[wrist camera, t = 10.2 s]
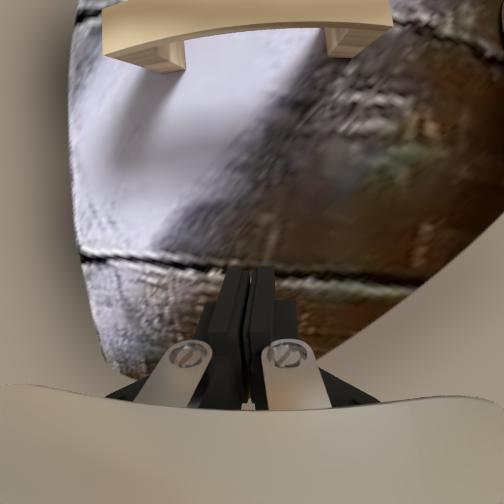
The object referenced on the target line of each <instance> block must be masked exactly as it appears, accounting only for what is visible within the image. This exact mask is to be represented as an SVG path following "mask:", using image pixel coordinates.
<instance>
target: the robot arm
mask: <svg viewBox="0 0 504 504" xmlns="http://www.w3.org/2000/svg"><path fill="white" fill-rule="evenodd" d="M502 26H503V32H504V3H503V6H502ZM249 387H250V393H251V401H252V403H255V409H256V410H241V406H242V403H247V402H248V395H249ZM0 504H504V408H502V407H501V406H500V405H498V404H497V403H494V402H493V401H490V400H486V399H482V398H477V397H468V396H432V397H421V398H415V399H407V400H399V401H391V402H380V401H378V400H377V399H376V398H374V397H372V396H370V395H368V394H367V393H365V392H363V391H361V390H359V389H357V388H355V387H353V386H352V385H350V384H348V383H346V382H344V381H342V380H340V379H339V378H337V377H335V376H333V375H331V374H330V373H328V372H326V371H324V370H323V369H321V368H319V367H318V365H317V362H316V359H315V357H314V354H313V351H312V349H311V348H310V346H309V345H307V344H306V343H305V342H302V341H300V340H298V328H297V314H296V300H295V299H287V300H276V296H275V280H274V267H273V266H260V267H258V270H257V271H253V274H252V279H251V285H250V275H249V271H244V269H243V267H237V268H228V269H227V272H226V275H225V278H224V281H223V284H222V287H221V291H220V294H219V297H218V300H217V302H207V303H206V304H205V307H204V310H203V312H202V315H201V318H200V320H199V323H198V326H197V329H196V331H195V334H194V337H193V339H192V340H187V341H182V342H179V343H177V344H175V345H173V346H172V347H170V348H169V349H168V350H167V351H166V353H165V354H164V356H163V357H162V359H161V360H160V362H159V363H158V365H157V366H156V368H155V369H154V371H153V372H152V374H151V375H149V376H147V377H145V378H143V379H140V380H138V381H136V382H134V383H132V384H130V385H128V386H126V387H124V388H122V389H120V390H117V391H115V392H113V393H111V394H109V395H108V396H106V397H99V396H93V395H88V394H82V393H77V392H72V391H67V390H61V389H56V388H51V387H46V386H41V385H32V384H12V385H4V386H0Z"/></svg>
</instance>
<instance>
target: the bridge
mask: <svg viewBox="0 0 504 504" xmlns="http://www.w3.org/2000/svg"><path fill="white" fill-rule="evenodd" d="M392 27H393V21H392V15H391V9H390V4H389V0H128V1H125V2H122V3H119V4H116V5H113V6H110V7H108V8H105V9H102V43H103V55H104V56H107V57H111V58H114V59H118V60H121V61H125V62H128V63H131V64H134V65H137V66H141V67H144V68H147V69H150V70H153V71H156V72H159V73H161V74H164V73H169V72H174V71H179V70H185V69H186V62H185V50H184V40H189V39H194V38H200V37H206V36H213V35H220V34H227V33H235V32H244V31H255V30H267V29H285V28H324V33H325V41H326V50H327V57H339V58H353V57H354V56H355V55H357V54H358V53H359V52H360V51H362V50H363V49H364V48H366V47H367V46H368V45H369V44H371V43H372V42H373V41H375V40H376V39H377V38H378V37H380V36H381V35H382V34H384V33H385V32H386V31H388V30H389V29H390V28H392Z"/></svg>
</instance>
